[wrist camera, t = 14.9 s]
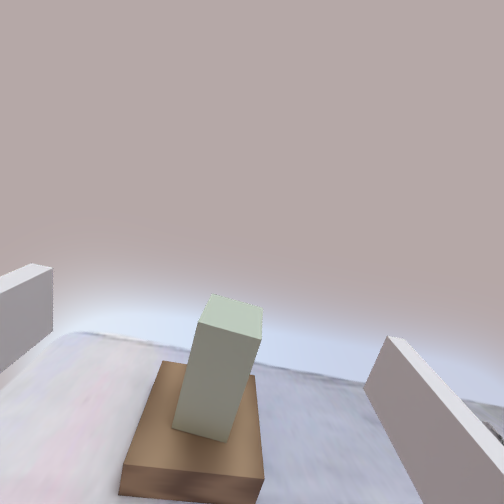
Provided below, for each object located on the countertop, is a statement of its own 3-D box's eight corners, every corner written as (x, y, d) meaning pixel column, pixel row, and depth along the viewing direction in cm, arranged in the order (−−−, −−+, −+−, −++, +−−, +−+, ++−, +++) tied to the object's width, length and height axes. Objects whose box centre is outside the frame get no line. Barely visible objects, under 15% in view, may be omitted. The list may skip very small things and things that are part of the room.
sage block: (233, 396, 27) (262, 308, 24) (226, 443, 23) (261, 339, 20) (188, 384, 27) (212, 293, 24) (171, 427, 23) (198, 321, 19)
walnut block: (246, 400, 32) (254, 375, 31) (252, 511, 22) (264, 479, 21) (157, 387, 31) (162, 360, 30) (117, 499, 20) (123, 464, 19)
